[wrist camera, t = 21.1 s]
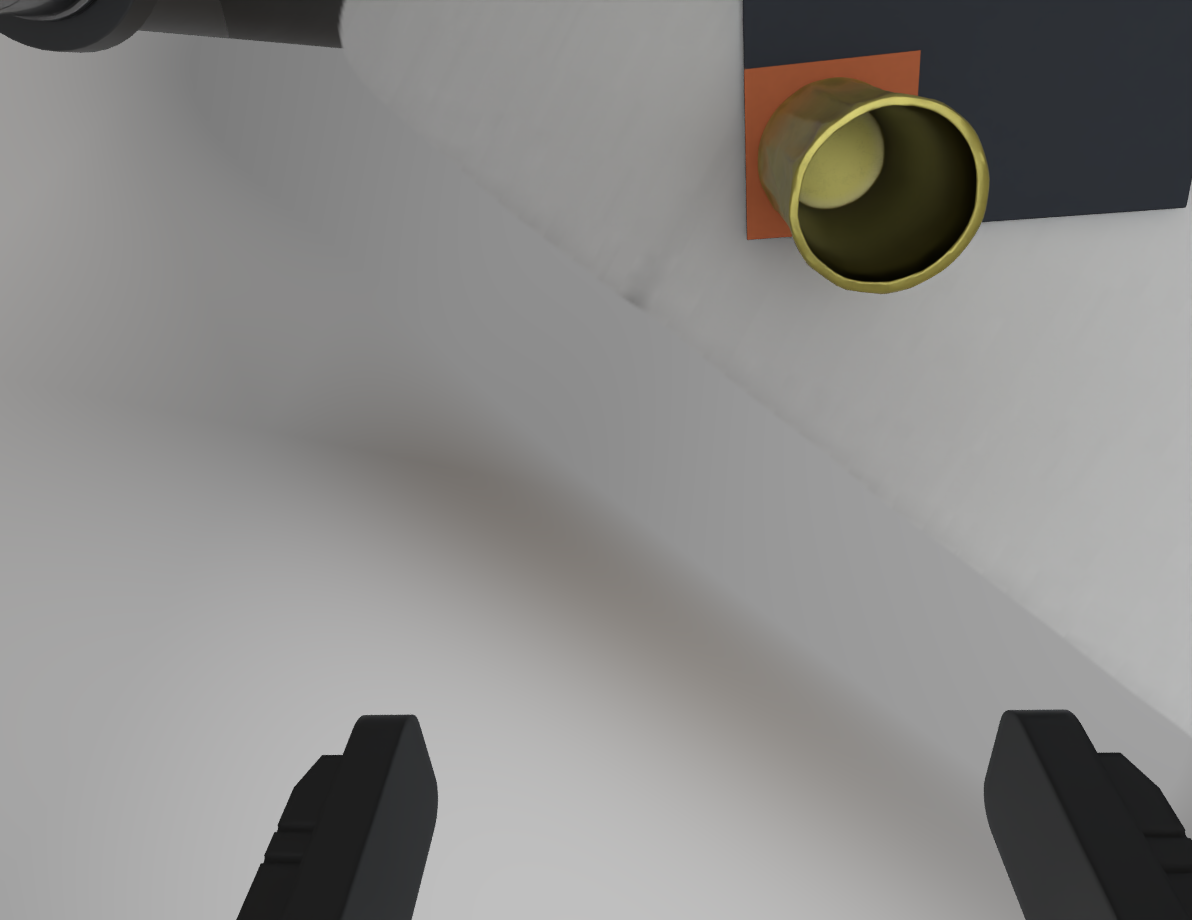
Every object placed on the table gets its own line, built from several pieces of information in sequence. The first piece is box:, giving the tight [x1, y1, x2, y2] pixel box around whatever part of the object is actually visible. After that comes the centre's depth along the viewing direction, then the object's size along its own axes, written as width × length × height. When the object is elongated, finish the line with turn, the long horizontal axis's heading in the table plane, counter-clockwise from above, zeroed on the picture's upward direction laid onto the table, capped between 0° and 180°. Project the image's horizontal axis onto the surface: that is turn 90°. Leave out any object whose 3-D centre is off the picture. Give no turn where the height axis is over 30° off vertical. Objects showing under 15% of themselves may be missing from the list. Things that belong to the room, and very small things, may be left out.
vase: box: [758, 77, 989, 294], centre depth 28 cm, size 6×6×14 cm
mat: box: [743, 0, 1192, 240], centre depth 32 cm, size 18×16×1 cm
